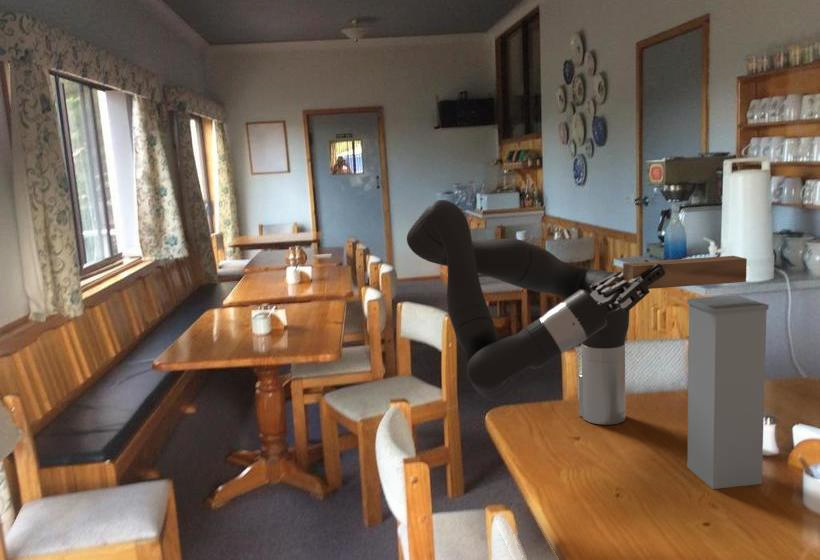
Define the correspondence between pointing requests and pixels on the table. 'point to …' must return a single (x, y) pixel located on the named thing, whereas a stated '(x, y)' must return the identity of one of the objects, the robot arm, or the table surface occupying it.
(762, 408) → the stand
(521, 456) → the table surface
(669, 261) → the walnut bar
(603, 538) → the table surface
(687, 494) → the table surface
